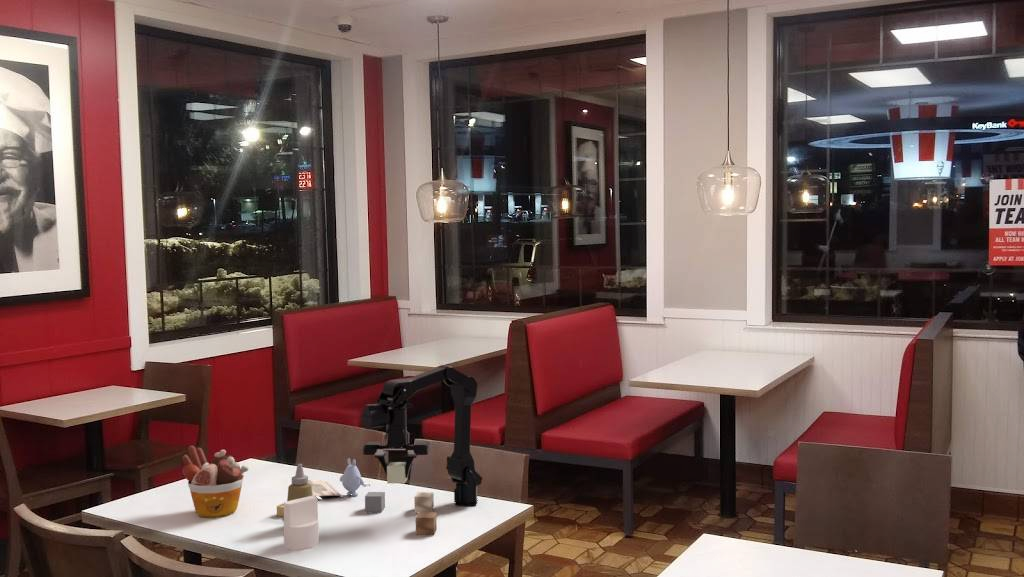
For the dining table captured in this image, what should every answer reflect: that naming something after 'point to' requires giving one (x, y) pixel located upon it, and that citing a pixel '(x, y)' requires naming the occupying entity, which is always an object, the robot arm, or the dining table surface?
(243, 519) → the dining table surface
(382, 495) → the slate block
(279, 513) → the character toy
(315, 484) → the newspaper
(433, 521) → the walnut block
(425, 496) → the cream block
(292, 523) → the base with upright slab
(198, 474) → the bucket of meat
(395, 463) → the sage block
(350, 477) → the toy figure
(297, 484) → the squeeze bottle
